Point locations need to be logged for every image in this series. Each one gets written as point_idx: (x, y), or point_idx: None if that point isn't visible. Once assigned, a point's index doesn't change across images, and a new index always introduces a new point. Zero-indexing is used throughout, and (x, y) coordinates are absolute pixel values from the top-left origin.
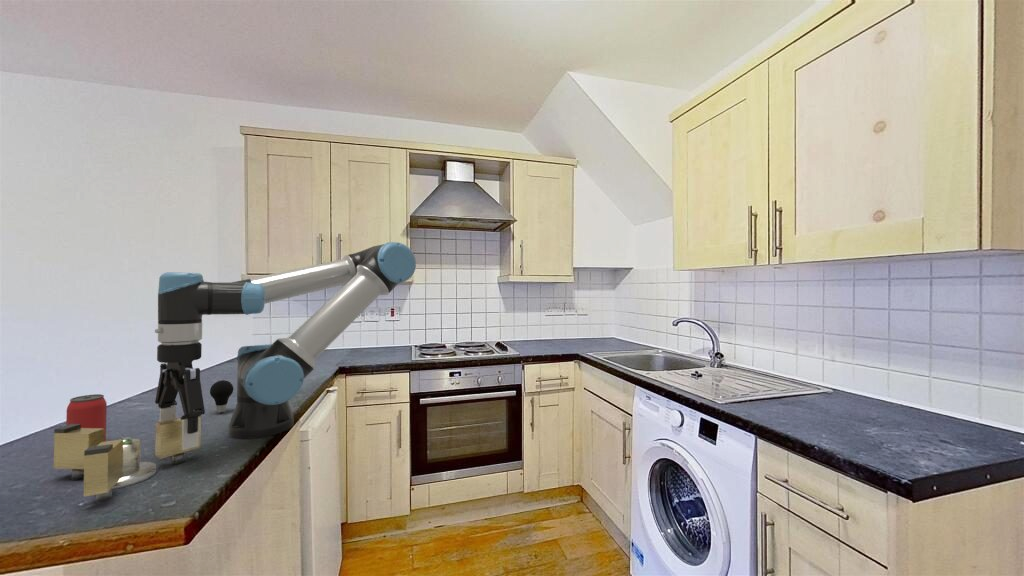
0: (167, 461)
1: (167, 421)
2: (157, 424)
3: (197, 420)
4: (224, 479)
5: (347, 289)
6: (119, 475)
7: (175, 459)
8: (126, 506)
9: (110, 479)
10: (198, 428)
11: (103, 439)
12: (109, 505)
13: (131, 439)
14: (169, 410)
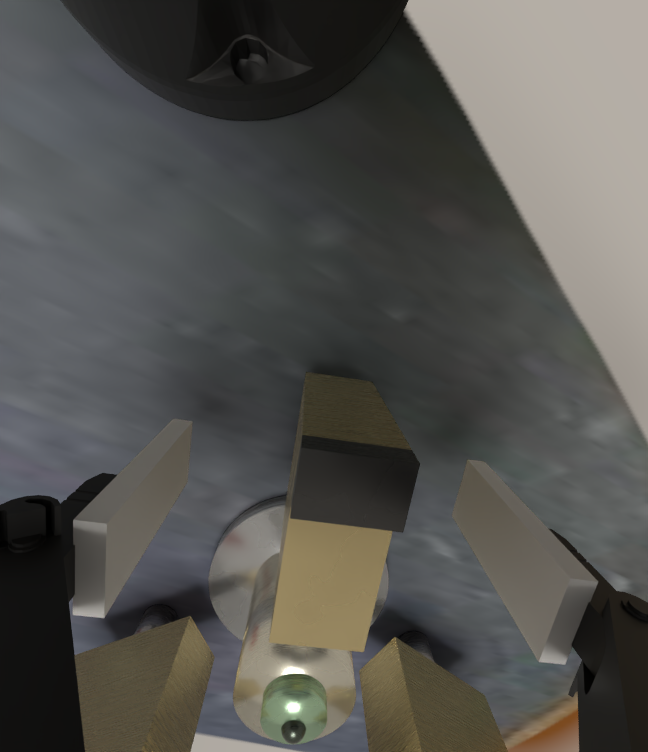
0: (272, 438)
1: (311, 602)
2: (297, 638)
3: (613, 590)
4: (638, 442)
5: None
6: (420, 664)
7: None
8: (515, 636)
9: (481, 719)
10: (534, 517)
11: (155, 722)
12: (465, 650)
13: (318, 698)
14: (117, 548)
